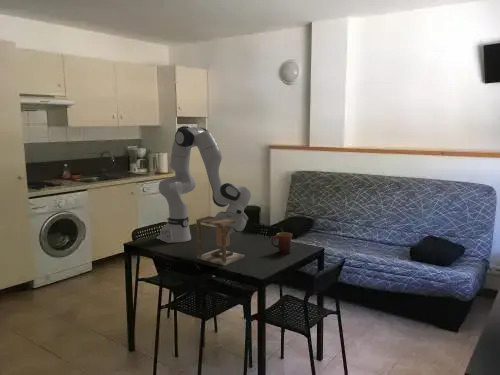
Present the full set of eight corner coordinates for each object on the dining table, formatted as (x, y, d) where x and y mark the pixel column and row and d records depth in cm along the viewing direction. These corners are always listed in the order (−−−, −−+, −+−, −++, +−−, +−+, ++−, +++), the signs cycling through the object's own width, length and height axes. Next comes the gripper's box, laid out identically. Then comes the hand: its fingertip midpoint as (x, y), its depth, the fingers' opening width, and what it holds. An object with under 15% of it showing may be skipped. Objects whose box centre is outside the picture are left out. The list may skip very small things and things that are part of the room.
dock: (197, 258, 225) (196, 219, 222) (218, 251, 238) (217, 213, 235) (224, 265, 214) (223, 224, 211) (244, 257, 227) (244, 218, 224)
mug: (289, 249, 239) (289, 231, 238) (294, 254, 231) (294, 235, 229) (269, 251, 237) (268, 233, 236) (272, 255, 229) (272, 237, 227)
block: (216, 245, 226) (216, 227, 225) (222, 243, 230) (222, 225, 229) (223, 247, 223) (223, 228, 222) (229, 244, 227) (229, 226, 226)
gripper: (216, 207, 236) (204, 228, 229) (245, 212, 223) (234, 234, 217) (222, 214, 240) (210, 235, 234) (250, 219, 227) (239, 240, 221)
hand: (222, 234), depth 225 cm, fingers closed on block, 5 cm apart
